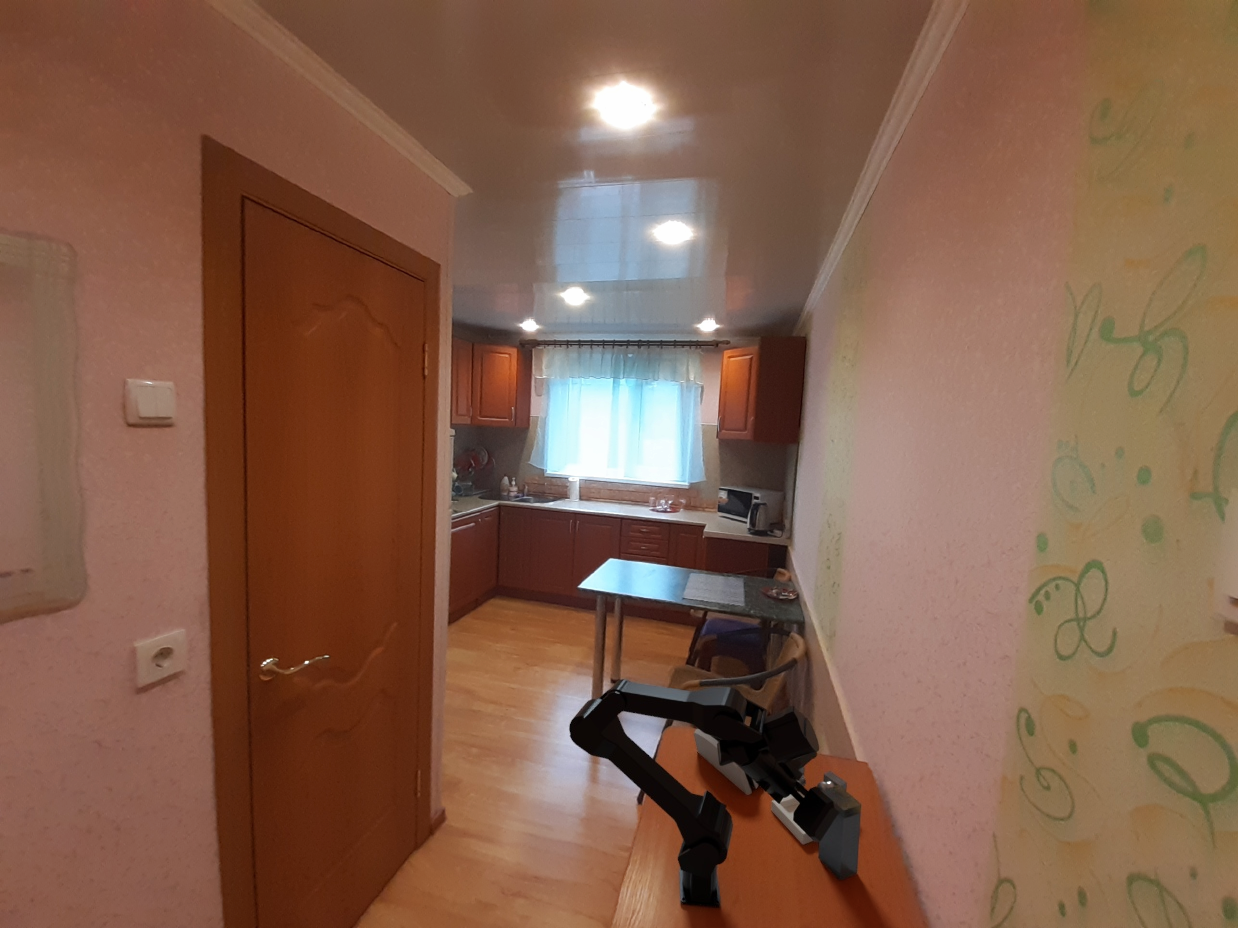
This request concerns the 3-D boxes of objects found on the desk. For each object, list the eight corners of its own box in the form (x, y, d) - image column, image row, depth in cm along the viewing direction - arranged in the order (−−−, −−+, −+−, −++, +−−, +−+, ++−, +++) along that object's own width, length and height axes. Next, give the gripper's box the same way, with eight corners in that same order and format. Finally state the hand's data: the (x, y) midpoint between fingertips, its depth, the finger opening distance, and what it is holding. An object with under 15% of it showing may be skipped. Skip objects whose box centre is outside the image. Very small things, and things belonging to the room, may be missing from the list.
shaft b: (806, 800, 106) (808, 775, 106) (787, 798, 106) (788, 773, 106) (800, 783, 111) (801, 759, 111) (781, 782, 111) (782, 757, 111)
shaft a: (831, 816, 102) (832, 790, 101) (814, 803, 105) (815, 777, 105) (846, 807, 104) (848, 781, 104) (830, 794, 108) (831, 769, 107)
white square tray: (839, 830, 98) (839, 820, 98) (802, 844, 95) (803, 834, 95) (805, 798, 107) (806, 789, 106) (771, 810, 103) (771, 800, 103)
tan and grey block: (857, 873, 89) (861, 803, 88) (839, 880, 88) (843, 810, 86) (835, 850, 94) (838, 784, 93) (818, 857, 92) (821, 790, 91)
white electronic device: (764, 787, 110) (755, 751, 107) (749, 801, 108) (739, 765, 105) (712, 744, 124) (703, 711, 121) (698, 756, 122) (688, 723, 119)
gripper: (834, 754, 75) (880, 802, 81) (752, 691, 92) (795, 735, 98) (790, 819, 73) (840, 865, 78) (714, 742, 89) (760, 784, 95)
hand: (807, 805), depth 87 cm, fingers open, 9 cm apart
